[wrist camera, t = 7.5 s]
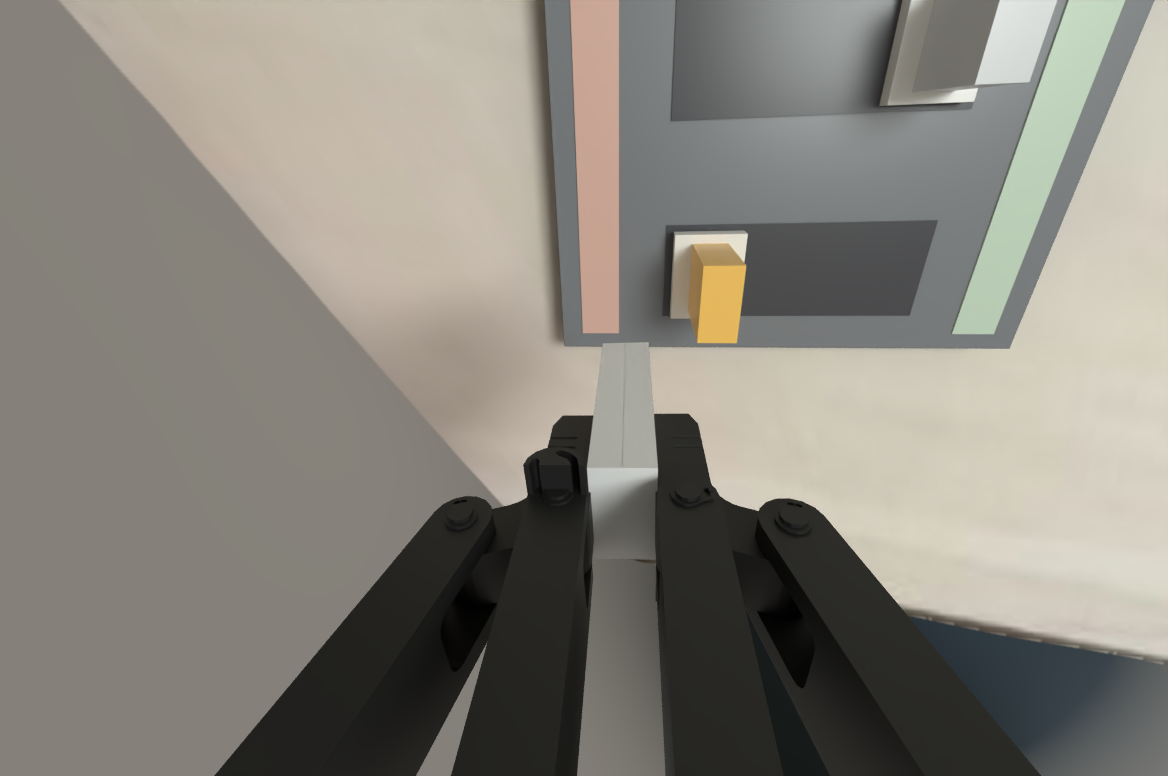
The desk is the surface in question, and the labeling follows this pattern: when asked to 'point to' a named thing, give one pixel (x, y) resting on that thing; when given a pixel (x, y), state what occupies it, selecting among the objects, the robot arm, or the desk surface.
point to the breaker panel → (825, 159)
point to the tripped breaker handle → (709, 282)
